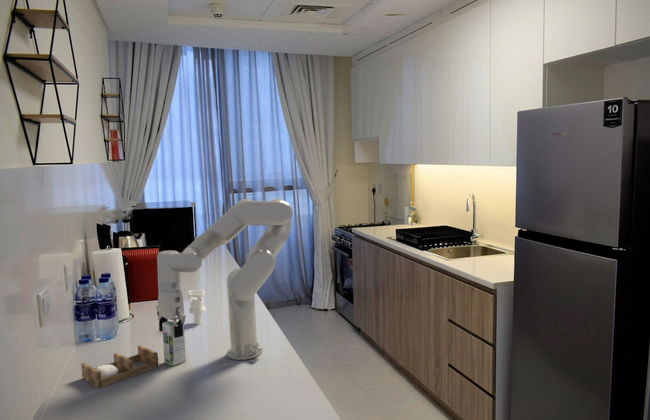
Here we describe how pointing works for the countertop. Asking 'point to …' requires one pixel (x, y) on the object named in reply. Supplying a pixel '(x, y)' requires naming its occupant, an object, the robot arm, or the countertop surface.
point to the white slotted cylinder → (196, 305)
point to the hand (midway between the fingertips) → (171, 333)
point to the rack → (122, 367)
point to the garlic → (107, 371)
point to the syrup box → (173, 345)
